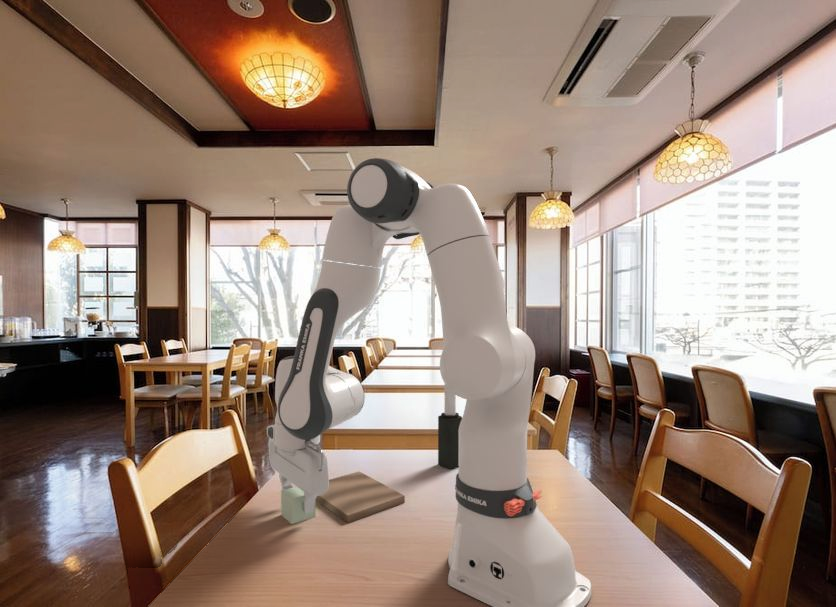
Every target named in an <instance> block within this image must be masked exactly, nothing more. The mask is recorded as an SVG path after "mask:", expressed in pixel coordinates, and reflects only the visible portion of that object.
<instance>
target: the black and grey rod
mask: <svg viewBox="0 0 836 607" xmlns="http://www.w3.org/2000/svg"><path fill="white" fill-rule="evenodd" d="M456 397H457V395H455V394H454V393H453V392H451V391H450V390H449V389H448V387H447V386H446V385H445V384H444V412H442V413H441V415H438V416H437V422H438V423H437V425H438V428H437V430H438V431H437V437H438V438H437V466H439V465H440V466H439V467H441V466H442V467H441V468H444V467H445V468H444V469H446V468H447V470H454V469H456V468H459V467H458V466H459V426H460V422H461V420H462V417H463V416H462V415H460V414H459V412H456V410H457V409H456V408H457V403H456ZM455 467H456V468H455Z"/></svg>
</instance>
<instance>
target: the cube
mask: <svg viewBox="0 0 836 607" xmlns="http://www.w3.org/2000/svg"><path fill="white" fill-rule="evenodd" d="M280 492H281V494H280V495H281V496H280V497H281V498H280V500H281V502H280V504H281V506H280V508H281V509H280V510H281V513H280V514H281V516H282V517H283V518H284V519H285V520H287V521H288V523H289V524H291V525H294V524H297V523H300V522H303V521H307V520H310V519H312V518H315V517H316V512H317V511H316V506H317V505H316V502H317V501H316V499H315V502H314V510H313V512H311V513H305V512H304V511H303V510H302V502H304V501H305V496H304V492H303V491H302V490H301V489H299V488H298V487H297V486H293V487H292V488H289V489H285V490H282V489H281V491H280Z"/></svg>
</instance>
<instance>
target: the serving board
mask: <svg viewBox="0 0 836 607" xmlns="http://www.w3.org/2000/svg"><path fill="white" fill-rule="evenodd" d="M405 496H406V495H404V494H403V493H401V492H398V491H396V490H395V489H393V488H391V487H390V486H387V485H385V484H384V483H382V482H380V481H378V480H376V479H374V478H373V477H371V476H369V475H366V474H365V473H363V472H361V471H355V472H352V473H349V474H345V475H342V476H338V477H334V478H329V489H328V491H327V493H325V494H323V495H320V496H317V497H316V502H318V503H319V504H321V505H322V506H324V507H325V508H327V509H328V510H329V511H330V512H332V513H333V514H335V515H336V516H337V517H339V518H340V519H342V521H344V522H345V523H347V524H349V523H351V522H354V521H357V520H360V519H363V518H365V517H368V516H371V515H374V514H377V513H380V512H382V511H385V510H388V509H391V508H394V507H396V506H399V505H401V504H404V503H405V502H406V500H405V499H406V498H405Z"/></svg>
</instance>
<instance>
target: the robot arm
mask: <svg viewBox="0 0 836 607" xmlns="http://www.w3.org/2000/svg"><path fill="white" fill-rule="evenodd" d="M346 192H347V193H346V194H347V198H348V199H347V200H348V202H349V204H348V205H347V204H346V205H343V206H340V207H339V208H337V210H335V212H334V214H333V215H332V218H331V221H330V223H329V227H328V230H327V234H326V239H325V243H324V248H323V254H322V262H321V268H320V274H319V277H318V281H317V283H316V287H315V289H314V291H313V293H312V295H311V296H310V298H309V300H308V302H307V304H306V307H305V310H304V313H303V316H302V321H301V324H300V328H299V334H298V337H297V341H296V347H295V351H294V353H293V354H294V355H290V356H286V357H284V358H282V359H281V360H280V361H279V363H278V366H277V368H276V374H275V386H274V390H275V391H274V400H275V404H276V409H277V410H276V413H275V418H274V424H271V425H268V426H266V436H267V437H268V459H269V464H270V467H271V469H272V470H274V471H275V472H276V473H277V474H279V476H278V477H279V478H278V479H279V481H280V486H281V491H282V490H285V489H289V488H292V487H296V486H297V487H298V488H299V489H301V490H302V491H303V492H304V496H305V501H304V502H302V510H303V511H304V512H305V513H311V512H313V510H314V502H315V499H316V497H317V496H320V495H323V494H325V493H327V491H328V489H329V480H330V477H329V476H330V475H329V463H328V458H327V455H326V453H325V452H324V451H323V450H322V448H321V446H320V445H319V444H320V443H321V435H322V434H324V433H325V432H327V431H328V430H330V429H332V428H334V427H337V426H339V425H341V424H343V423H344V422H347V421H349V420H351V419H352V418H354V417H355V416H357V415H359V413H361V411H362V409H363V407H364V404H365V398H366V397H365V391H364V387H363V385H362V382H361V381H360V380H359V378H358V377H357V376H355V375H354V374H352V373H351V372H350V373H349V372H346V371H342V370H340V369H337V368H334V367H333V366H331V365H330V362H331V358H332V353H333V348H334V344H335V340H336V338H337V335H338V333H339V331H340V330H341V328H342V327H343V326H344V325H345V323H347V321H349V320H350V319H351V318H352V317H353V316H355V315H356V314H358V313H359V312H361V311H363V310H364V309H366V308H367V307H368V306H369V305H370V304H371V303H372V302H373V300H374V299H375V296H376V293H377V290H378V288H379V284H380V278H381V268H382V262H383V261H382V259H383V253H384V247H385V245H386V243H387V242H388V240H389V239H391V237H392V238H394V239H395V240H401V239H402V240H403V239H407V238H410V237H415V236H418V235H419V236H420V237H421V239H422V243H423V246H424V248H425V249H424V250H425V253H426V256H427V260H428V263H429V267H430V270H431V274H432V277H433V282H434V285H435V289H436V292H437V296H438V301H439V305H440V313H441V314H440V315H441V328H442V341H443V344H442V346H443V347H442V351H441V352H442V353H441V355H440V358H439V371H440V377H441V379H442V380H443V383H444V386H445V385H446V386H447V387H448V389H449V390H450V391H451V392H453V393H454V394H455V395H456V397H458V398H461V399H464V400H466V401H465V405H464V411H463V413H462V414H463V415H462V416H461V417H462V420H461V422H460V426H459V467H458V472H457V474H456V475H455V476H456V477H455V485H454V489H455V499H456V502H457V508H456V517H455V525H454V530H453V532H454V533H453V540H452V544H451V548H450V552H449V555H448V558H447V560H448V562H447V563H448V568H449V572H448V575H447V585H448V586H449V587H452V588H453V589H456V590H457V591H460V592H461V593H464V594H466V595H468V596H470V597H472V598H474V599H476V600H478V601H480V602H482V603H484V604H487V605H489V606H491V607H585V606H586V605H587V604H588V603H589V601H590V600H591V597H592V584H591V581H590V579H589V578H587V577H586V576H585V575H583V574H581V573H579V571H577V570H576V567H575V566H576V565H575V559H574V554H573V550H572V547H571V546H570V544H569V543H568V542H567V540H566V539H565V538H564V537H563V536H562V535H561V534H560V533H559V531H558V530H557V528H555V527H554V525H553V524H552V523H551V522H550V521H549V519H548V518H547V517H546V516H545V515H544V514H543V513H542V512H541V510H540V509H539V508H538V507H537V504H538V503H537V500H539V499H541V498H542V495H541V494H542V489H541V490H538V491H535V492H534V491H533V487H532V485H531V482H530V479H529V478H528V474H527V473H528V429H529V428H528V426H529V425H528V424H529V418H530V410H531V403H532V394H533V384H534V382H533V381H534V370H535V361H536V349H535V345H534V343H533V342H534V341H532V339H531V337H529V335H528V334H527V333H526V332H524V331H523V330H522V329H521V328H520V327H517V326H514V325H511V324H509V322H508V317H507V315H508V314H507V309H506V301H505V291H504V290H505V281H504V277H503V272H502V270H501V267H500V264H499V260H498V258H497V254H496V252H495V251H496V250H495V248H494V245H493V241H492V239H491V236H490V235H491V234H490V233H489V230H488V227H487V224H486V222H485V219H484V217H483V215H482V213H481V210H480V208H479V207H478V204H477V202H476V200H475V198H474V196H473V195H472V193H471V191H470V190H469V189H468V188H467V187H466V186H464V185H462V184H458V183H450V182H449V183H444V184H439V185H437V186H435V187H434V186H433V185H432V184H431V183H429V182H428V181H426V180H424V178H422V177H421V176H419V175H418V174H417V173H416V172H414V171H413V170H410V168H408V167H405V166H402V165H400V164H399V163H397V162H395V161H393V160H390V159H387V158H380V157H378V158H377V157H376V158H375V157H374V158H367V159H366V160H364V161H361V162H360V163H359V164H358V165H357V166H356V167H355V168H354V169H353V171H352V172H351V174H350V176H349V179H348V180H347V186H346ZM292 484H293V485H294V486H293V485H292Z"/></svg>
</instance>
